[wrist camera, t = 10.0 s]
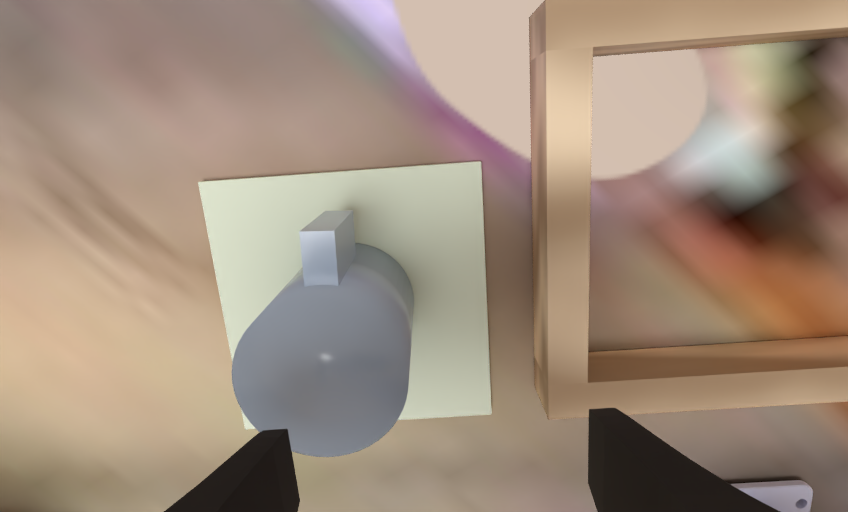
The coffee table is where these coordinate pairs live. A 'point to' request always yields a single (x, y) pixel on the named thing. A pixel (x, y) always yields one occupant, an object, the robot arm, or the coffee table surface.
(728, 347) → the frame
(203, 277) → the coffee table surface
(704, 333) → the coffee table surface
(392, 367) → the grey rounded cylinder
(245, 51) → the coffee table surface
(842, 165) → the coffee table surface
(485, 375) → the sage mat
